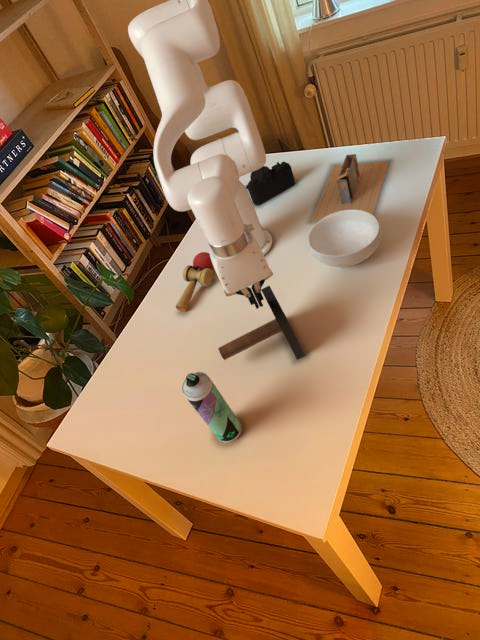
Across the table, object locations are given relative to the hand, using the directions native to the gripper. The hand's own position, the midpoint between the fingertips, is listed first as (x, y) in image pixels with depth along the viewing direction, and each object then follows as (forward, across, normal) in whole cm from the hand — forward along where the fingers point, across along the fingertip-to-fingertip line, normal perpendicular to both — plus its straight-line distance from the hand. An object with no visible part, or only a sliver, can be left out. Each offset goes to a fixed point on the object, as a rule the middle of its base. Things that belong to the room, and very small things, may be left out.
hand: (258, 303), depth 105 cm
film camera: (+10, -18, -53) cm, 57 cm away
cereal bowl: (+10, -25, -13) cm, 30 cm away
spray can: (+10, +16, +20) cm, 27 cm away
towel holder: (+8, +4, +4) cm, 10 cm away
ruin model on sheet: (+10, -37, -35) cm, 52 cm away
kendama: (+10, +12, -26) cm, 30 cm away
